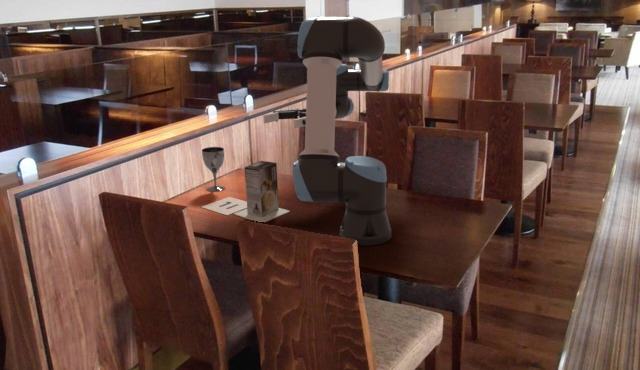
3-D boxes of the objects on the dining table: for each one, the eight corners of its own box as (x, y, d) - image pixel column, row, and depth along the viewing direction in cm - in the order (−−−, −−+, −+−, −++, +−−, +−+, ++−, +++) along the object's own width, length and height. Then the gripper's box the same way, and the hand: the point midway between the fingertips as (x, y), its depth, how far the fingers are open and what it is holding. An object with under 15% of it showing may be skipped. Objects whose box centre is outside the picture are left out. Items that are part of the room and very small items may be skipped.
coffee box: (263, 205, 201) (261, 159, 196) (279, 209, 198) (277, 162, 193) (246, 214, 194) (243, 166, 189) (262, 217, 190) (259, 169, 185)
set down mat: (289, 211, 196) (289, 210, 196) (262, 223, 186) (261, 222, 186) (261, 203, 204) (261, 202, 204) (233, 214, 194) (233, 213, 194)
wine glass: (203, 186, 223) (200, 147, 218) (224, 184, 225) (222, 146, 221) (206, 193, 216) (203, 153, 211) (228, 190, 218) (225, 151, 213)
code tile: (255, 204, 203) (255, 204, 203) (227, 215, 194) (226, 214, 193) (229, 197, 211) (229, 196, 211) (201, 207, 201) (201, 206, 201)
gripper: (349, 126, 203) (308, 137, 187) (294, 118, 218) (252, 128, 202) (349, 104, 201) (308, 114, 185) (293, 98, 216) (251, 106, 200)
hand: (279, 121), depth 194 cm, fingers open, 13 cm apart
